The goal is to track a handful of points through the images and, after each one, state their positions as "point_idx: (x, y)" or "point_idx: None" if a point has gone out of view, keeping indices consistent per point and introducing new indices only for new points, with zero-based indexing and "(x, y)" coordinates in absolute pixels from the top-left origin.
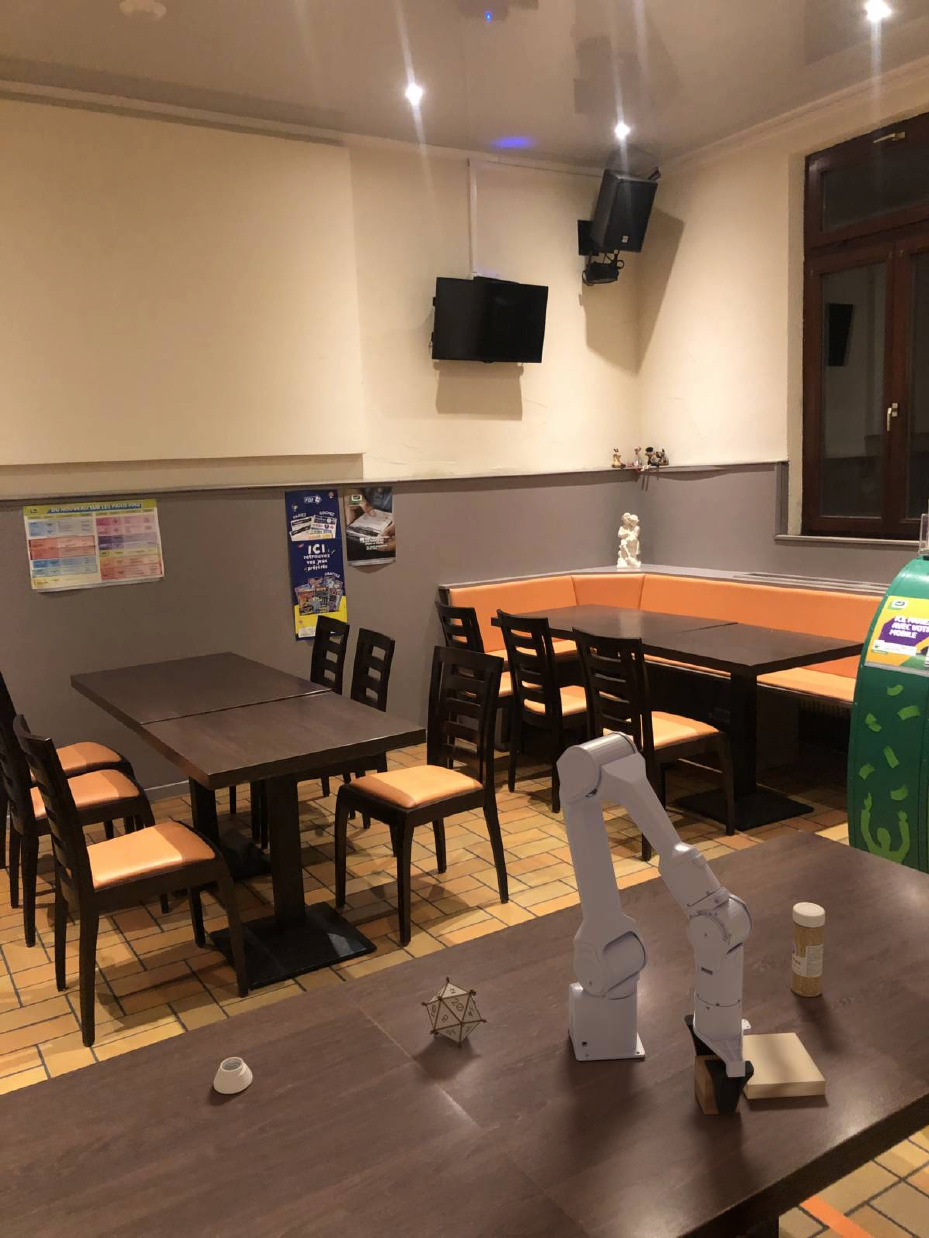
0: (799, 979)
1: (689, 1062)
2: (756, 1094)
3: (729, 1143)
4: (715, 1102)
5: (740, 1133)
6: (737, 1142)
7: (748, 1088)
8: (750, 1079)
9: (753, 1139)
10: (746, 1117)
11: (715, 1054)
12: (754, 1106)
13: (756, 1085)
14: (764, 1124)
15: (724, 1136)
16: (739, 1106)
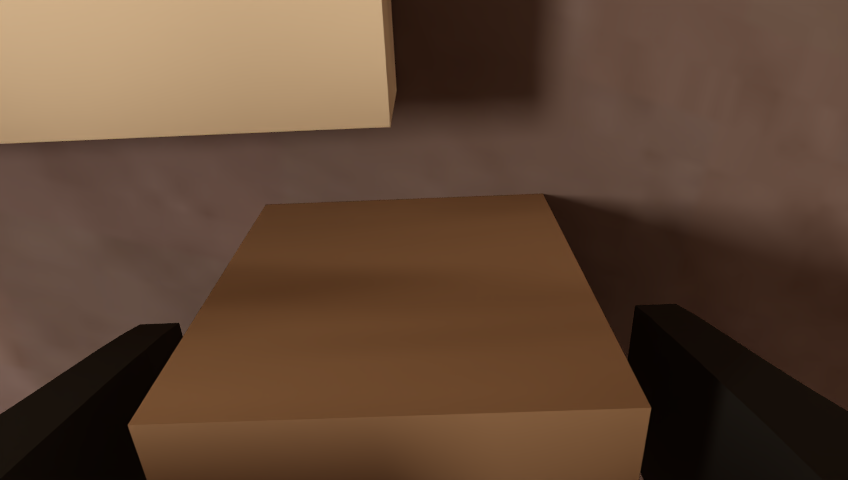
0: None
1: (11, 389)
2: (389, 12)
3: (815, 334)
4: (645, 473)
5: (753, 248)
6: (825, 288)
7: (391, 109)
8: (298, 72)
9: (838, 178)
10: (607, 162)
11: (85, 464)
12: (491, 59)
13: (381, 24)
14: (714, 41)
15: (748, 347)
16: (554, 219)
